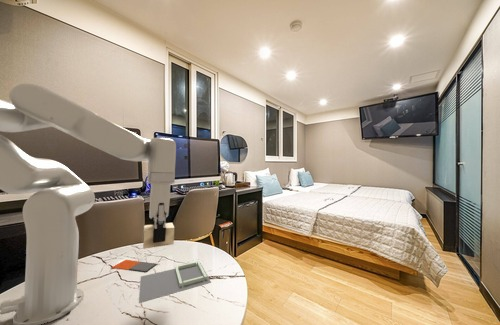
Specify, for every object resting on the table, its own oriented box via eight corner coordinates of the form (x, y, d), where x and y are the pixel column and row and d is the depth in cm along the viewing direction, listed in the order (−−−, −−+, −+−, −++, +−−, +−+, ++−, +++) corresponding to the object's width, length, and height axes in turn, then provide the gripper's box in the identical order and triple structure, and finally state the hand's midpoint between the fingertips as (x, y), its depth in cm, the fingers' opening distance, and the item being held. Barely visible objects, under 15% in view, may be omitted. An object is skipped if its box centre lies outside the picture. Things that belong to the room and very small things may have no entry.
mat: (138, 304, 51) (138, 299, 51) (140, 278, 63) (140, 273, 63) (211, 283, 60) (211, 279, 60) (200, 264, 72) (200, 260, 72)
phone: (125, 258, 74) (158, 263, 71) (125, 262, 74) (158, 266, 71) (110, 267, 68) (146, 272, 65) (110, 271, 68) (146, 276, 65)
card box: (143, 248, 52) (144, 230, 53) (143, 241, 57) (144, 225, 58) (173, 244, 56) (174, 227, 57) (171, 238, 61) (172, 222, 61)
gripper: (147, 177, 63) (144, 231, 63) (147, 180, 48) (143, 251, 48) (171, 177, 67) (169, 228, 66) (178, 180, 52) (175, 246, 51)
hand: (158, 237), depth 57 cm, fingers closed on card box, 5 cm apart
